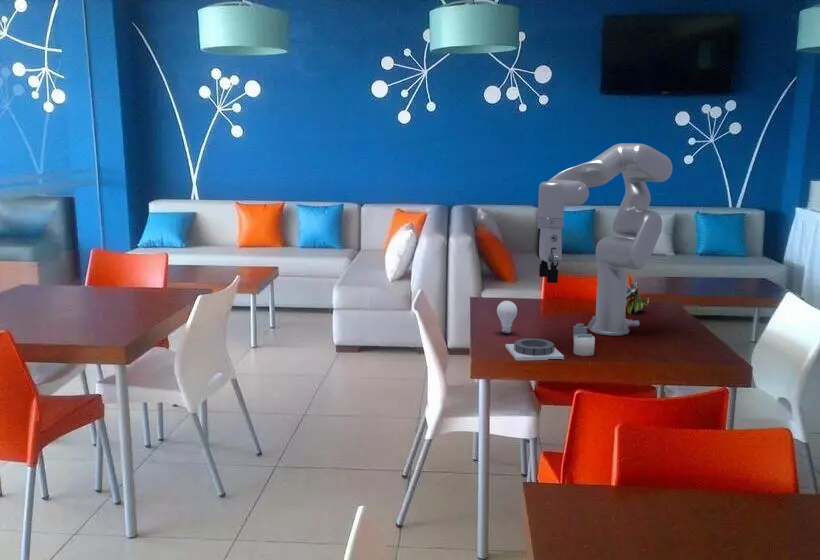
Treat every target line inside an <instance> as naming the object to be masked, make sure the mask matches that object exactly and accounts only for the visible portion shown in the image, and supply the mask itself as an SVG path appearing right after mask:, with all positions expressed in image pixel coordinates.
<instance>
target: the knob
mask: <svg viewBox="0 0 820 560" xmlns="http://www.w3.org/2000/svg"><path fill="white" fill-rule="evenodd" d="M595 341H596V337H595V336H593V334H591V333H587V334H577V335H575V336H574V340H573V352H572V353H573V354H574V355H576V356H582V357H589V356H590V357H591V356H594V355H595V344H596V342H595Z"/></svg>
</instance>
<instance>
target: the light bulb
mask: <svg viewBox="0 0 820 560" xmlns="http://www.w3.org/2000/svg"><path fill="white" fill-rule="evenodd" d="M517 314H518V308H517V305H516V304H515V303H514V302H513V301H510V300H503V301H501V302H500V303H499V304H498V305H497V308H496V315H497V316H498V318H499V320H500V322H501V324H500V325H501V331H502V333H503V334H506V335H507V334H510V333H511V332H512V328H511V327H512V326H513V322H514V319H515V318H516V317H517Z"/></svg>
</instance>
